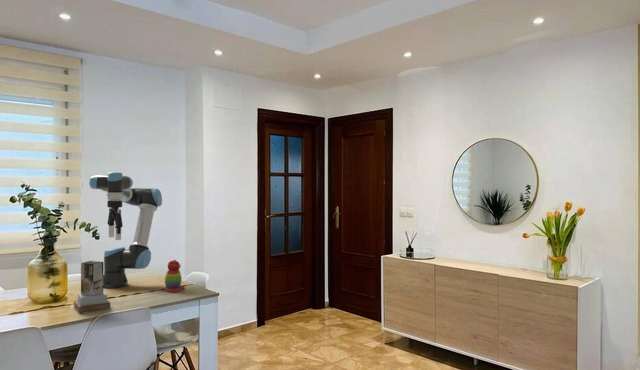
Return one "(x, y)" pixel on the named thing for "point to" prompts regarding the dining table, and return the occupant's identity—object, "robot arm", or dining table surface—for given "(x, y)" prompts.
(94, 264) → the coffee box
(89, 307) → the base slab
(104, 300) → the top slab
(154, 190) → the robot arm
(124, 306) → the dining table surface
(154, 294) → the dining table surface
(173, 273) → the stacking bear
